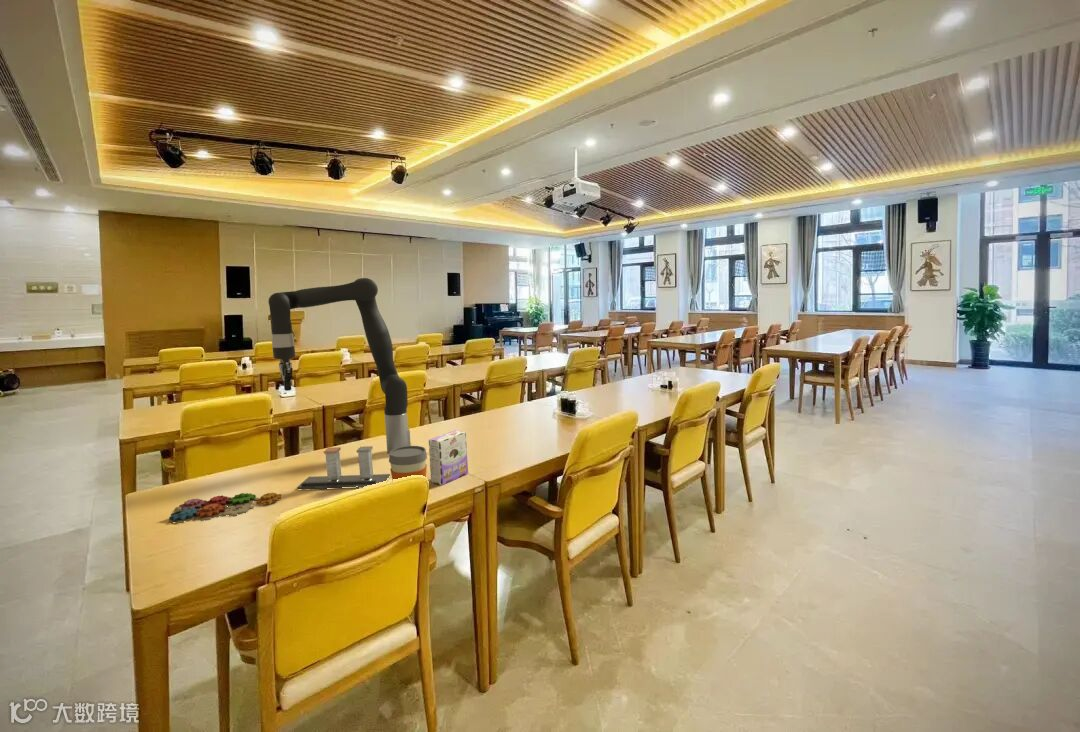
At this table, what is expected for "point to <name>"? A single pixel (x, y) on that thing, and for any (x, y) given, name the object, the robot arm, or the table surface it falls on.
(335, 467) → the sliding pointer
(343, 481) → the bolt plate
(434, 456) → the candy box
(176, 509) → the gear puzzle
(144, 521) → the table surface
